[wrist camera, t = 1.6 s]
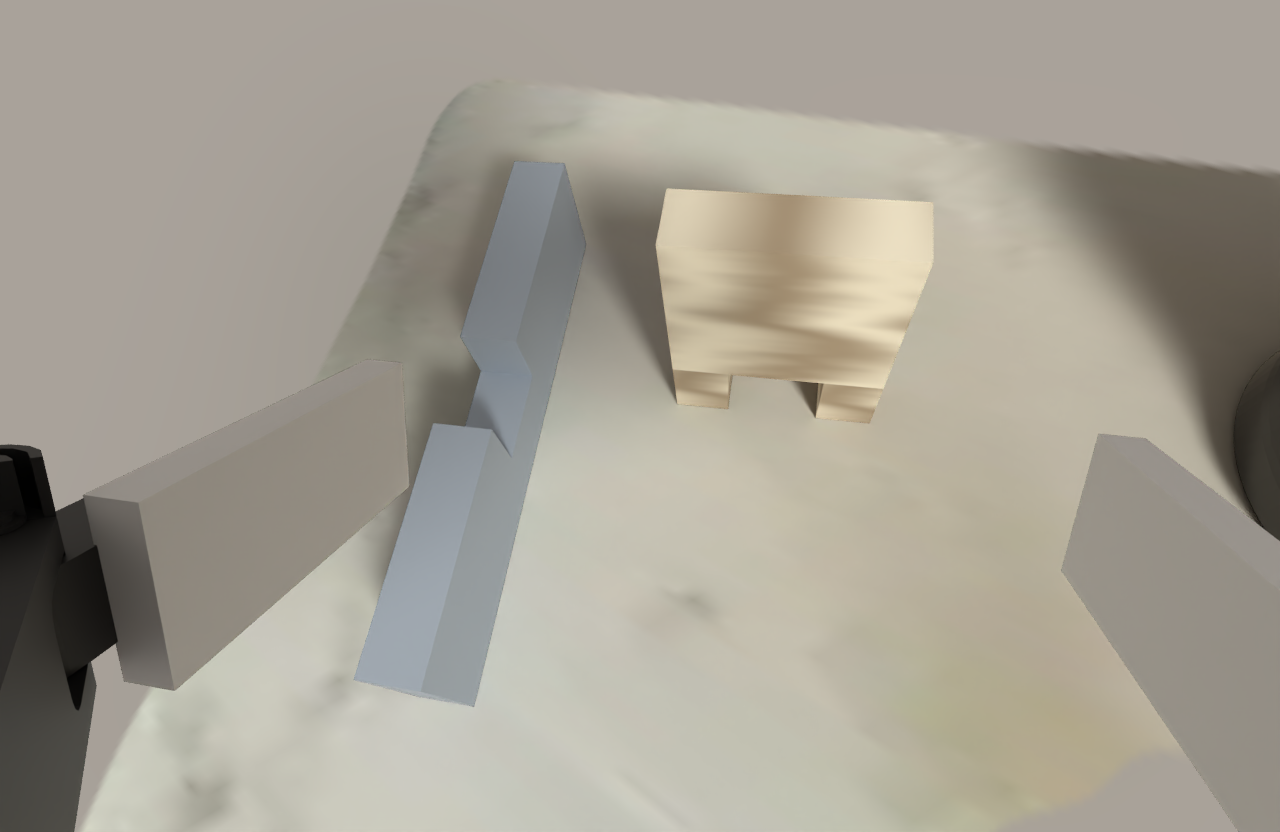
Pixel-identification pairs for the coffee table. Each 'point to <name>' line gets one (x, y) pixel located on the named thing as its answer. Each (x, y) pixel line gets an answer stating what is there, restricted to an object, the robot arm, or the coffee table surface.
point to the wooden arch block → (790, 292)
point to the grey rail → (480, 453)
